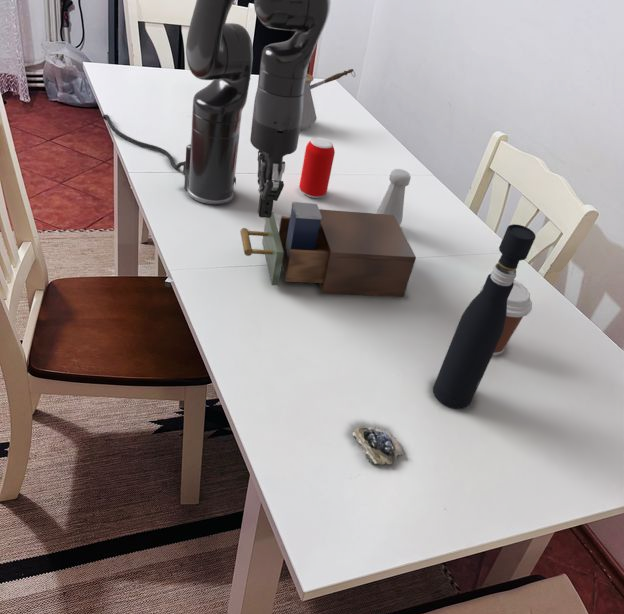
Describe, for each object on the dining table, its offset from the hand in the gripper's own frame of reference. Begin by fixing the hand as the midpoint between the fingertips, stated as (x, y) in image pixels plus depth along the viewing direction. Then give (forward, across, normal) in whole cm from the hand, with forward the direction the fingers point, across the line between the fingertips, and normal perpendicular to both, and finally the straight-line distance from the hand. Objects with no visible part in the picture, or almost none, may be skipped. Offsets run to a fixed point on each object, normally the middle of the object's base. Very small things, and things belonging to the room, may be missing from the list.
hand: (264, 215), depth 113 cm
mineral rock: (+12, +43, +12) cm, 46 cm away
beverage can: (+11, -30, +16) cm, 36 cm away
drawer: (+10, 0, +6) cm, 12 cm away
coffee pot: (+11, -69, +23) cm, 74 cm away
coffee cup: (+11, +20, +38) cm, 45 cm away
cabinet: (+11, 0, +19) cm, 22 cm away
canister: (+9, 0, +7) cm, 11 cm away
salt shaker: (+11, -18, +30) cm, 37 cm away
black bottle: (+11, +33, +27) cm, 44 cm away
